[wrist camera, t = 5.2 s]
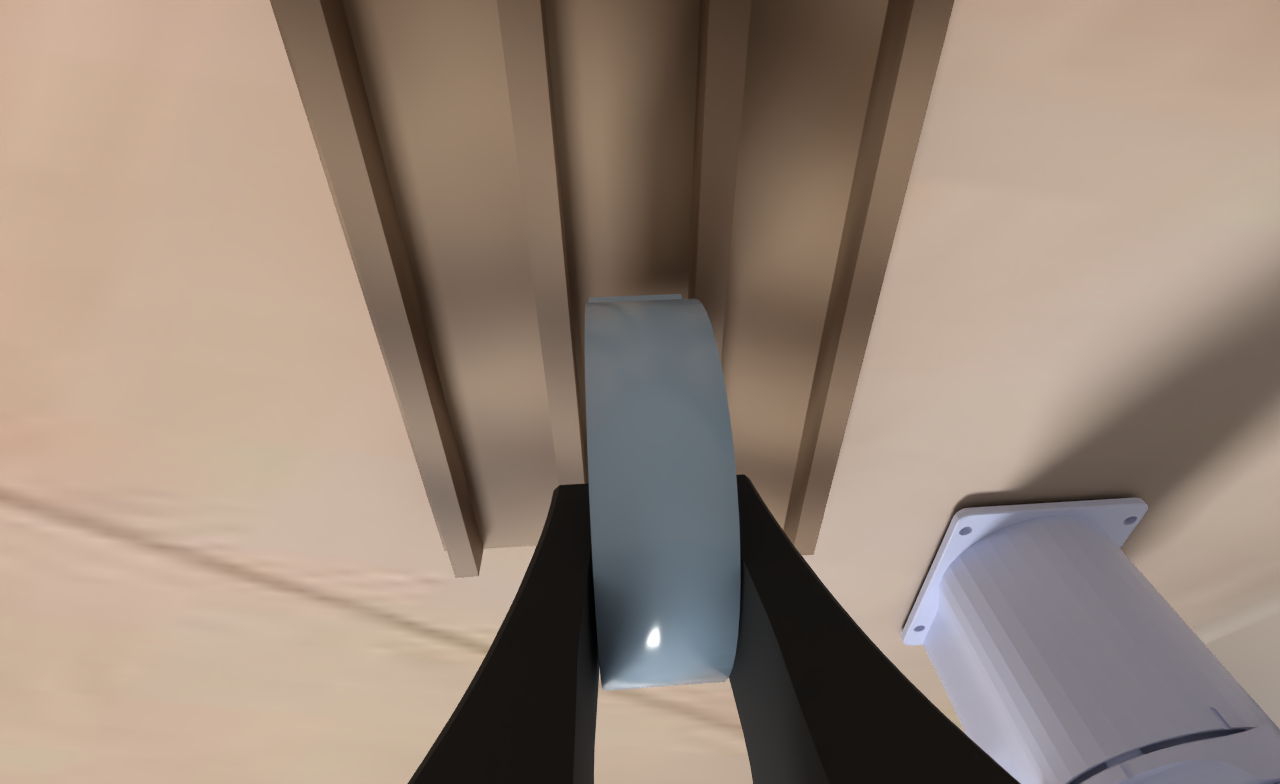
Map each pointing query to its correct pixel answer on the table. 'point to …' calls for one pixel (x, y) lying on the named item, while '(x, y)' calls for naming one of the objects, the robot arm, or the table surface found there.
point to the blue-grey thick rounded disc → (660, 493)
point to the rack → (613, 217)
